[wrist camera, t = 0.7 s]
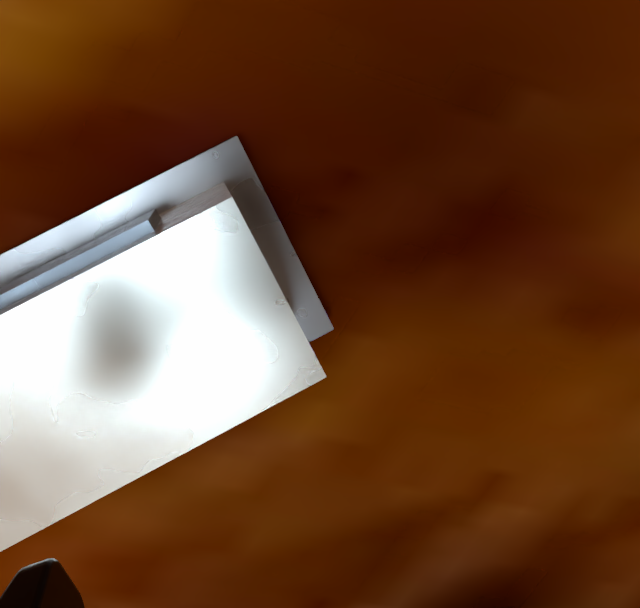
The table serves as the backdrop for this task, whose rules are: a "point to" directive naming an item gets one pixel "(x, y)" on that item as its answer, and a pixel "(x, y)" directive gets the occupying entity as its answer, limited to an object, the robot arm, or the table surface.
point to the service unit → (145, 335)
